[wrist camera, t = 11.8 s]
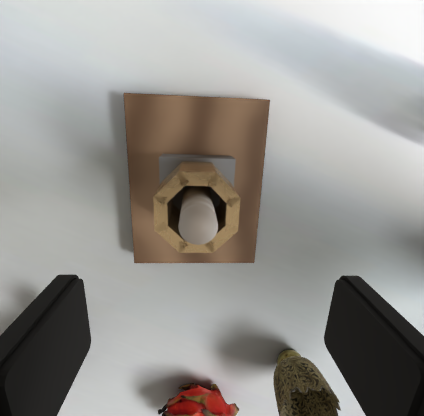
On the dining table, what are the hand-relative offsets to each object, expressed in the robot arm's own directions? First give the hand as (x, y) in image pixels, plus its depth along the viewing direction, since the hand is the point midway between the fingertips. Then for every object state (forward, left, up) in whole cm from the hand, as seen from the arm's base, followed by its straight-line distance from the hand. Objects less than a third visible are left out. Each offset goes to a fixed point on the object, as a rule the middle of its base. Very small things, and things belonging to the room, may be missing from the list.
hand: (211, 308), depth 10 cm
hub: (0, 0, -16) cm, 16 cm away
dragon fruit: (-1, +33, -21) cm, 39 cm away
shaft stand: (0, 0, -21) cm, 21 cm away
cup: (-14, +26, -21) cm, 36 cm away
